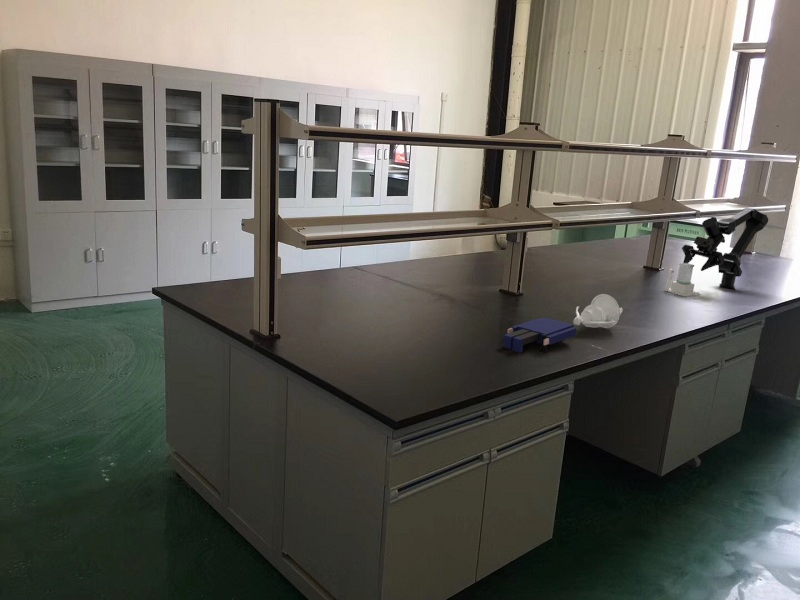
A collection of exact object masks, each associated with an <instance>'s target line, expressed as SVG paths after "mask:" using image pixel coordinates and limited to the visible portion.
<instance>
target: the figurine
mask: <svg viewBox="0 0 800 600" xmlns="http://www.w3.org/2000/svg"><path fill="white" fill-rule="evenodd" d="M579 309H580V306H576V308H575V315H576V317H575V318H574V319H573V320H572V323H573V324H572V325H574V326H580V325H581V324H582V325H584V326H585V328H586V327H587V328H604V329H611V328H612V327H614V326H615V325H617V323H618V322H619V319H620V316H621V314H622V313H623V310H624V309H623V307H620V306H619V304H618V302H617V300H616V299H615V298H614V297H613V296H611V295H609V294H606V293H600V294H597V295H596V296H595V297H593V298H592V301H591V302H590V304H589V305H587V306H585V308H584V309H583V310H582V312H581V313H579V311H578V310H579Z"/></svg>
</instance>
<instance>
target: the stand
mask: <svg viewBox="0 0 800 600" xmlns="http://www.w3.org/2000/svg"><path fill="white" fill-rule="evenodd" d="M674 272H675V271H674V269H672V268H668V274H667V280H666V284H665V288H664V290H665V291H664V290H663V291H664V292H667V291H668V293H671V294H674V293H675V295H677V294H678V296H680V297H691V296H692V295H693V296H698V295H700V292H697V291H694V289H695V284H694V283H692V282H691V283H690V284H686V285H684V284H681V283H677V282H676V280H674V281H672V278H673V274H674Z"/></svg>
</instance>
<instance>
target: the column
mask: <svg viewBox="0 0 800 600" xmlns="http://www.w3.org/2000/svg"><path fill="white" fill-rule="evenodd" d="M678 265H679V268H678V273H677V279H676V280H675V281H676V282H677V283H681V284H684V285H686V284H690V283H692V276H693V270H694V267H695V264H691V263H683V262H680V263H679V264H678Z"/></svg>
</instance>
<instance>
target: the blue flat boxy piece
mask: <svg viewBox="0 0 800 600" xmlns="http://www.w3.org/2000/svg"><path fill="white" fill-rule="evenodd" d="M576 336H577V328H576V327H575V324H572V323H568V322H565V321H560V320H556V319H552V318H549V317H541V318H539V317H538V318H534V319H531V320H529V321H526V322H523V323H520V324H516V325H513V326H511V327H510V328H508V329H507V334H503V348H505V349H508V350H510V351H511V350H512V351H513V352H516V353H520V354H521V353H523V352H524V346H525V345H528V344H531V343H533V342H535V343H538V344H541V345H540V348H539V352H540V353H541V354H542V353H543V354H547V353H548V352H549V350H548V348H547V346H551V345H553V344H557V343H559V342H561V341H564V340H567V339H570V338H573V337H576Z"/></svg>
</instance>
